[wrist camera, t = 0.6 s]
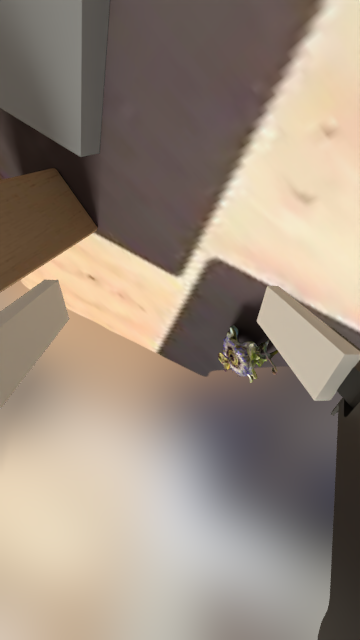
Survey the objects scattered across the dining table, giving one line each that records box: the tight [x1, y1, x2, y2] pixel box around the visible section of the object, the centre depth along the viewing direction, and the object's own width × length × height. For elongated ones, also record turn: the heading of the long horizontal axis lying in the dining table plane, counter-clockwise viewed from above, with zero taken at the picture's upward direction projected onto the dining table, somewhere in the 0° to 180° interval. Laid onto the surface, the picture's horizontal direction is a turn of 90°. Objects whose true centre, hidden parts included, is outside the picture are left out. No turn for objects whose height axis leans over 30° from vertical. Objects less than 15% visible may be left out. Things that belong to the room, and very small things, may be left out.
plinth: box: [0, 0, 110, 157], centre depth 19 cm, size 16×13×4 cm
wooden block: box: [0, 168, 97, 292], centre depth 29 cm, size 10×10×20 cm
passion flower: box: [218, 326, 278, 383], centre depth 40 cm, size 11×11×12 cm
